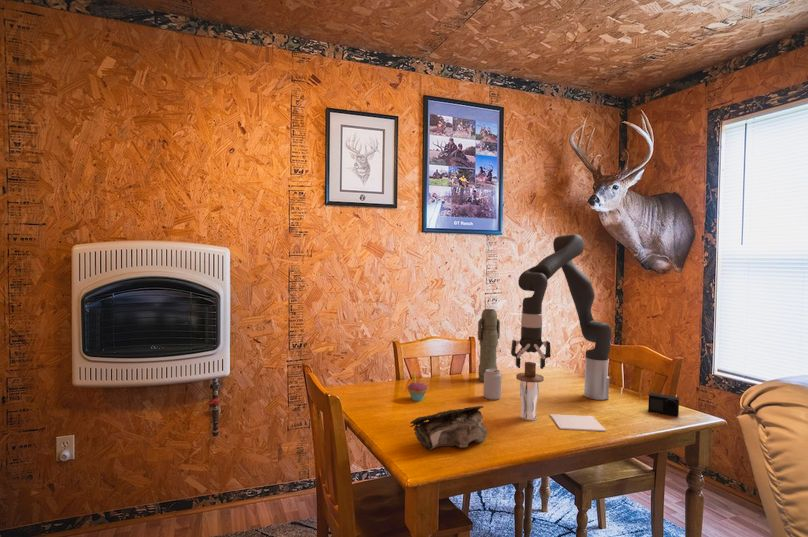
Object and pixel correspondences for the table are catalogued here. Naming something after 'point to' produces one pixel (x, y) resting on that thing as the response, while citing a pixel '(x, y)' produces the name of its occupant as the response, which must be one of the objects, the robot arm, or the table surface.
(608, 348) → the robot arm
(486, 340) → the green statue
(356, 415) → the table surface
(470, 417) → the hollow geode rock
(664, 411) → the digital camera
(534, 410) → the beer glass
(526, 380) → the walnut lid
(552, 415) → the white mat
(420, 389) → the cupcake
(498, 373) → the can
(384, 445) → the table surface
